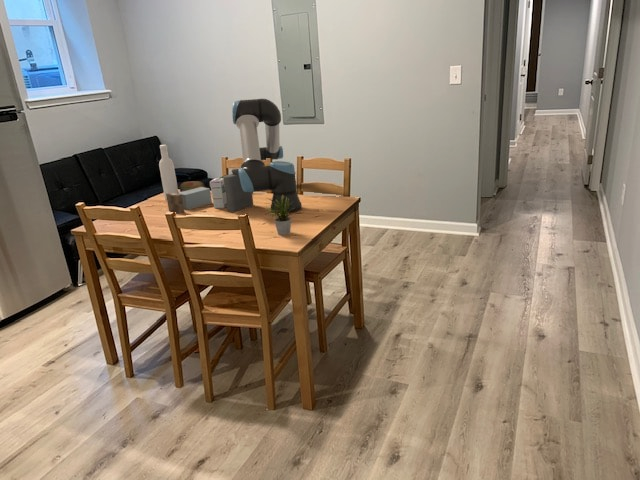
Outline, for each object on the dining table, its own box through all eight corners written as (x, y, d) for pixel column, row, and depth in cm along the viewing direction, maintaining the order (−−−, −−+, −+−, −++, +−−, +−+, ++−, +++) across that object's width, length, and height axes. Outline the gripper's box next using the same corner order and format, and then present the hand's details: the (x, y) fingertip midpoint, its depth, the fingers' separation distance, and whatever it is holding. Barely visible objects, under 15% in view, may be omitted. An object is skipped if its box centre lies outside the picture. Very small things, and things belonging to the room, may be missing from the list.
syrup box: (224, 208, 256) (220, 180, 252) (213, 208, 258) (209, 180, 253) (228, 205, 262) (224, 177, 257) (217, 205, 263) (214, 178, 258)
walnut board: (184, 211, 255) (181, 194, 252) (181, 212, 254) (178, 195, 251) (172, 209, 261) (169, 192, 258) (168, 210, 259) (165, 193, 256)
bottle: (161, 199, 283) (152, 146, 273) (170, 196, 290) (161, 143, 280) (173, 200, 280) (164, 146, 270) (182, 196, 287) (173, 143, 277)
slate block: (211, 203, 269) (209, 188, 266) (187, 210, 259) (184, 194, 256) (203, 201, 274) (201, 186, 272) (179, 207, 264) (176, 192, 262)
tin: (180, 196, 288) (178, 182, 285) (183, 195, 290) (180, 181, 288) (204, 196, 284) (202, 181, 281) (207, 195, 287) (204, 180, 284)
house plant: (266, 228, 219) (262, 192, 213) (298, 225, 219) (295, 189, 214) (265, 239, 205) (261, 200, 200) (299, 236, 206) (296, 197, 200)
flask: (248, 204, 261) (243, 165, 254) (255, 205, 257) (251, 166, 250) (224, 211, 251) (219, 171, 245) (231, 212, 247) (226, 172, 241)
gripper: (250, 182, 288) (219, 192, 270) (234, 180, 295) (203, 190, 278) (249, 169, 285) (217, 179, 268) (233, 168, 293) (201, 177, 275)
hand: (210, 184), depth 273 cm, fingers closed
